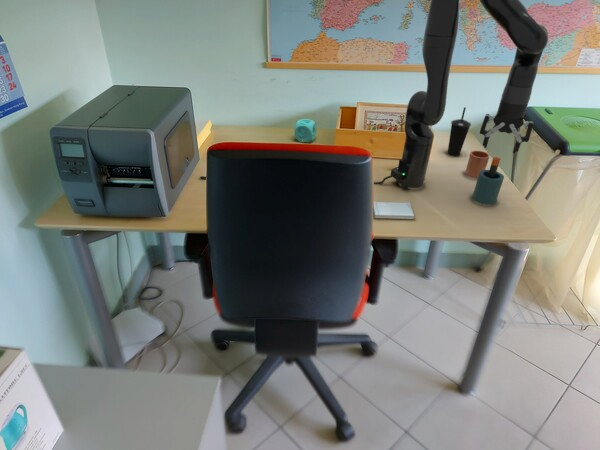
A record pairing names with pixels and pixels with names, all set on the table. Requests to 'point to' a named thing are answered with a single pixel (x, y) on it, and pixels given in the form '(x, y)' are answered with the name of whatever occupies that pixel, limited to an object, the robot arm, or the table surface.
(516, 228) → the table surface
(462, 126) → the drinking cup
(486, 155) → the pen cup
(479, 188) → the jar
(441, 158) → the table surface
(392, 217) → the hard drive
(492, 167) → the marker
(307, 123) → the decorative dice
